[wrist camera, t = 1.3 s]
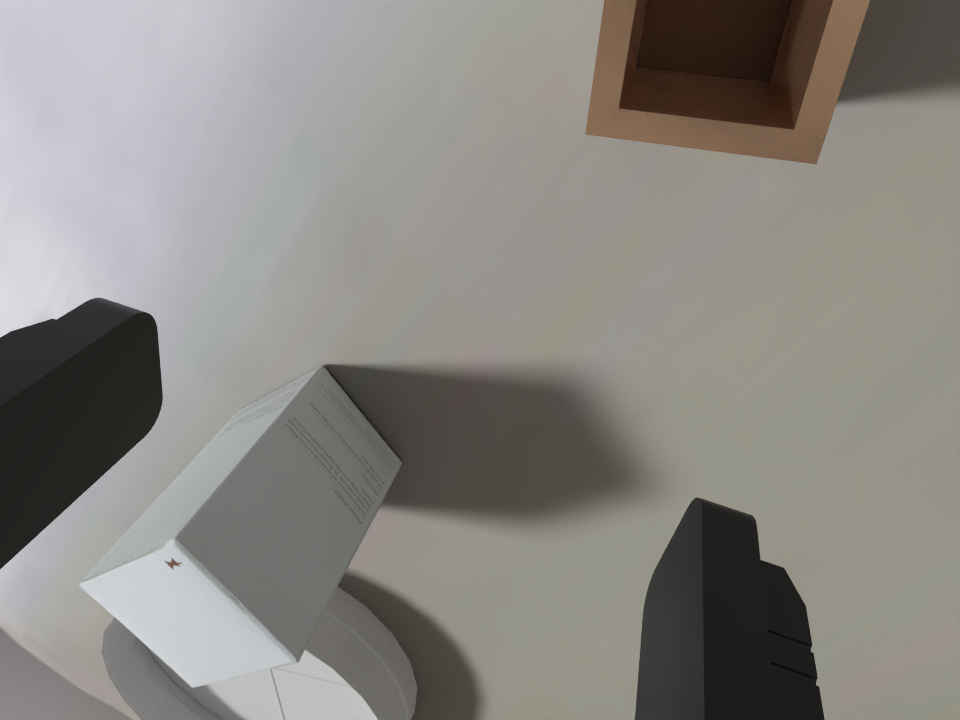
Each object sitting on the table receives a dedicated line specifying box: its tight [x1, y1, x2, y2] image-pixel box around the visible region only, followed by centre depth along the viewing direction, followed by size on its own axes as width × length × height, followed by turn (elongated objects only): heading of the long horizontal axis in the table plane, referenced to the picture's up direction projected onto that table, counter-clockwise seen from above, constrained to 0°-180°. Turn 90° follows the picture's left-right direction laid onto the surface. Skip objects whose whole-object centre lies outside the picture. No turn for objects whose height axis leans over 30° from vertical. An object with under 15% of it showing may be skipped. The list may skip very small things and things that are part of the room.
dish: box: [102, 586, 418, 720], centre depth 49 cm, size 22×22×5 cm
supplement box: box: [79, 366, 402, 688], centre depth 33 cm, size 7×7×13 cm
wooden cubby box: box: [586, 0, 870, 164], centre depth 20 cm, size 6×6×7 cm
